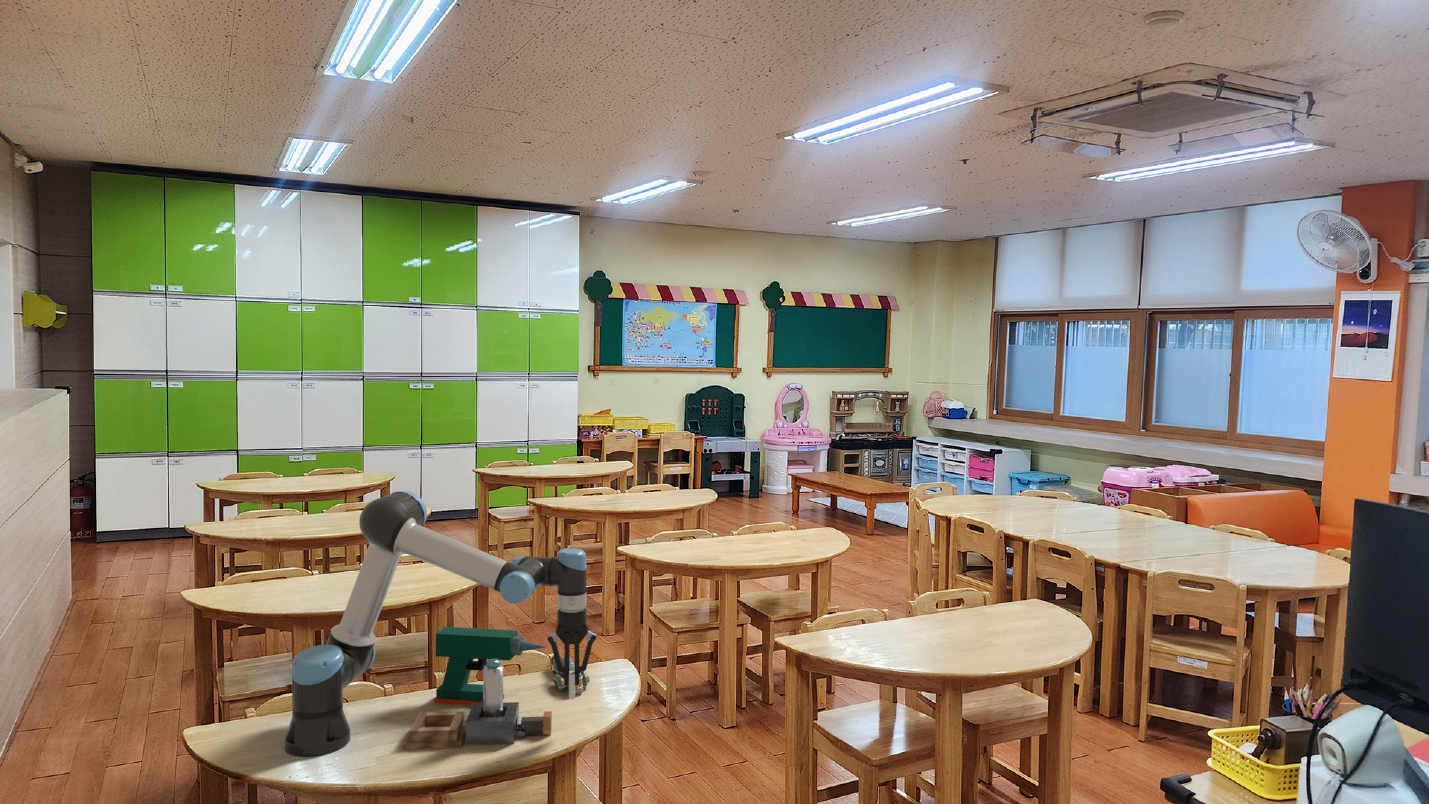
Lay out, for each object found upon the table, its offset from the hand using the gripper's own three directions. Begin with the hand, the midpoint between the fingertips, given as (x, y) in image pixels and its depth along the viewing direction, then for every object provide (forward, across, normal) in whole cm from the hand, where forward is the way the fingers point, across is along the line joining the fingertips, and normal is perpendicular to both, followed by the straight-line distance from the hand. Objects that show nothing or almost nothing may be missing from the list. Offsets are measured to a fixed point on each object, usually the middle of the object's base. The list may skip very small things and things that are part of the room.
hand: (572, 696), depth 229 cm
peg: (+9, -20, 0) cm, 22 cm away
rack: (+9, -34, 0) cm, 36 cm away
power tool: (+9, -23, +22) cm, 34 cm away
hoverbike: (+10, -4, +36) cm, 38 cm away
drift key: (+9, -9, 0) cm, 13 cm away
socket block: (+9, -19, 0) cm, 21 cm away
